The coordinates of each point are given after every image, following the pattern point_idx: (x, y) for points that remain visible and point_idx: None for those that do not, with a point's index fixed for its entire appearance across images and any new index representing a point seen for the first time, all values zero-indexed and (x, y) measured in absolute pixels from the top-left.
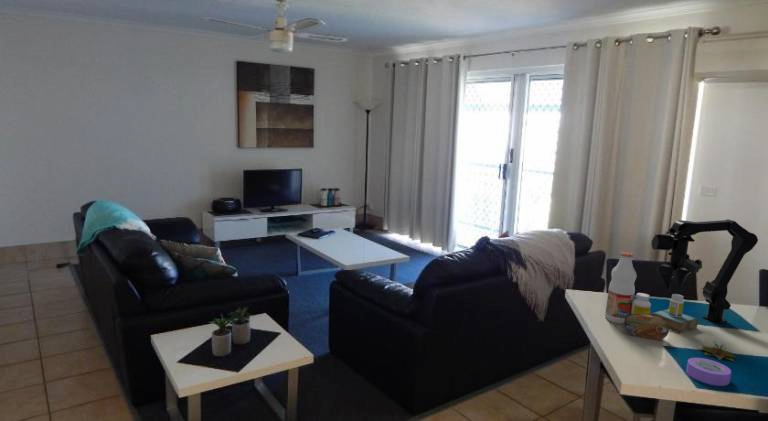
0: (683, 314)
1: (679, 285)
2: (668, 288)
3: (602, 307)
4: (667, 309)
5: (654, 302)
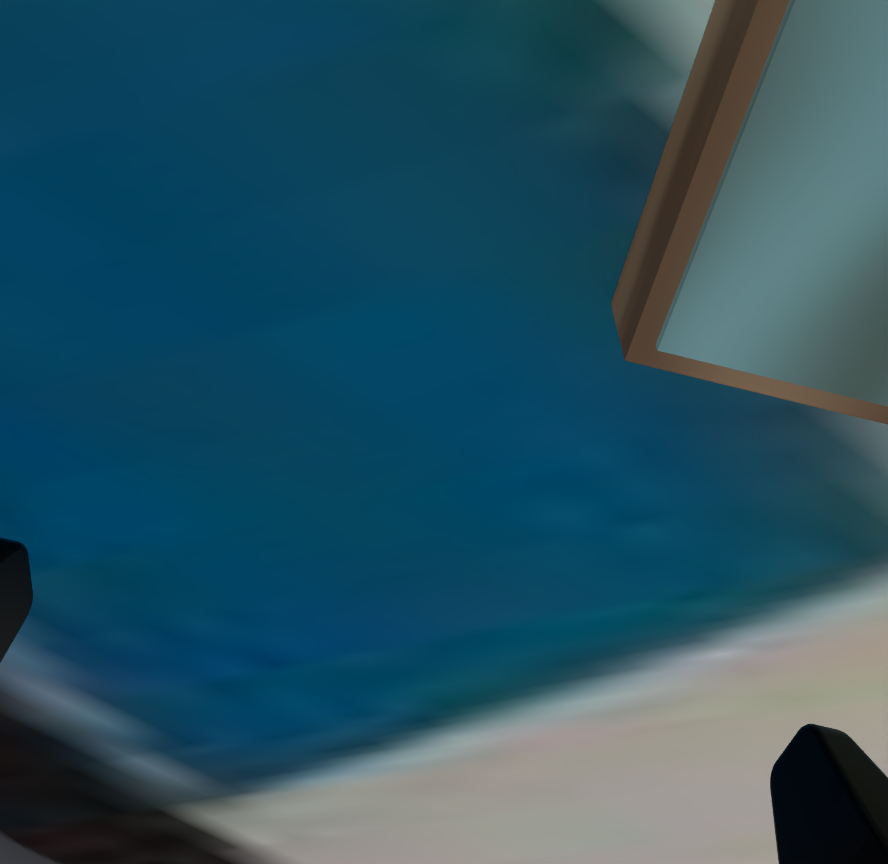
0: (820, 16)
1: (29, 593)
2: (840, 754)
3: None
4: (711, 358)
5: (106, 567)
